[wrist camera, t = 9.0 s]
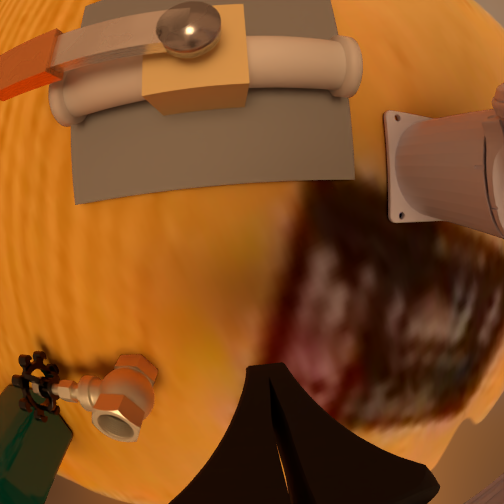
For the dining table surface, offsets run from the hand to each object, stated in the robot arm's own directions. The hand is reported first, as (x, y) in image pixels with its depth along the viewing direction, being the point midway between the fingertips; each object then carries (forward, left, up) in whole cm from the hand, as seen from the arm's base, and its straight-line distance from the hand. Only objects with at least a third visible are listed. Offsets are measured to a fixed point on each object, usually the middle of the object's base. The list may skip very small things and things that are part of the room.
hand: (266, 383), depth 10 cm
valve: (+14, +7, -10) cm, 18 cm away
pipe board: (+2, -14, -9) cm, 17 cm away
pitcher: (+27, +15, -10) cm, 32 cm away
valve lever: (+7, -15, -4) cm, 16 cm away
